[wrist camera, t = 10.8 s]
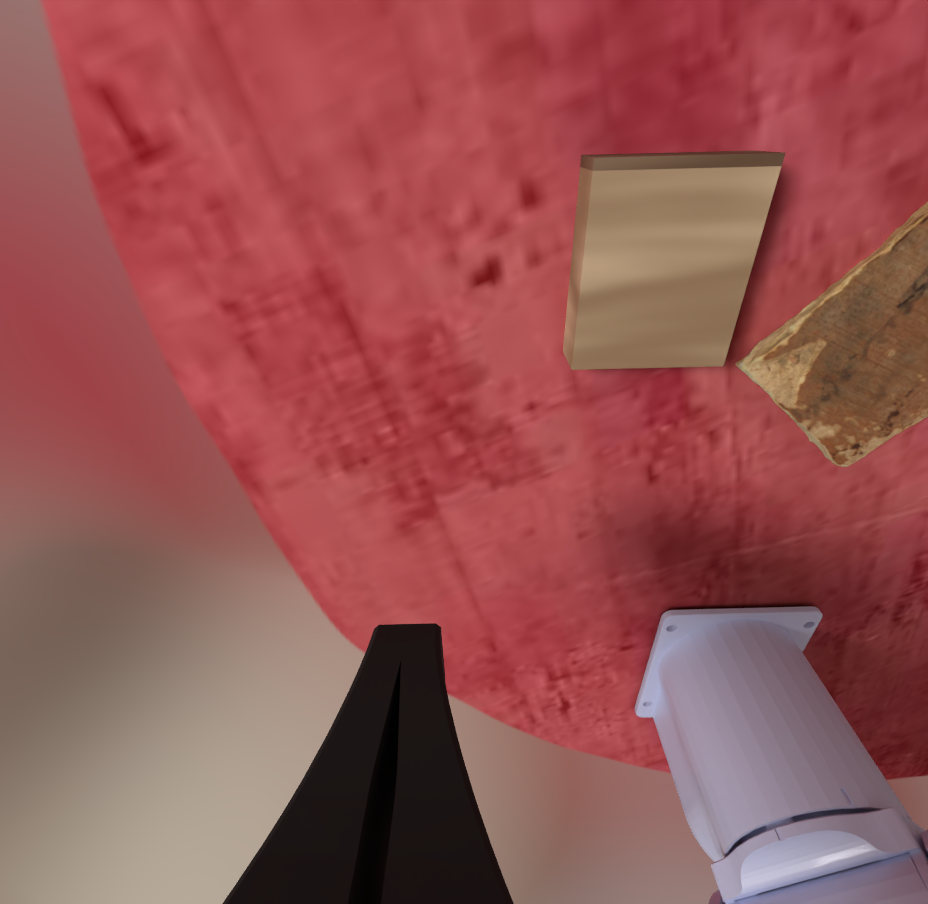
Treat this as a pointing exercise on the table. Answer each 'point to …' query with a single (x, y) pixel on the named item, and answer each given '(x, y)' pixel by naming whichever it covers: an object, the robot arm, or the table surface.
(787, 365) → the shard
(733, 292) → the oak slab
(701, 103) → the table surface
